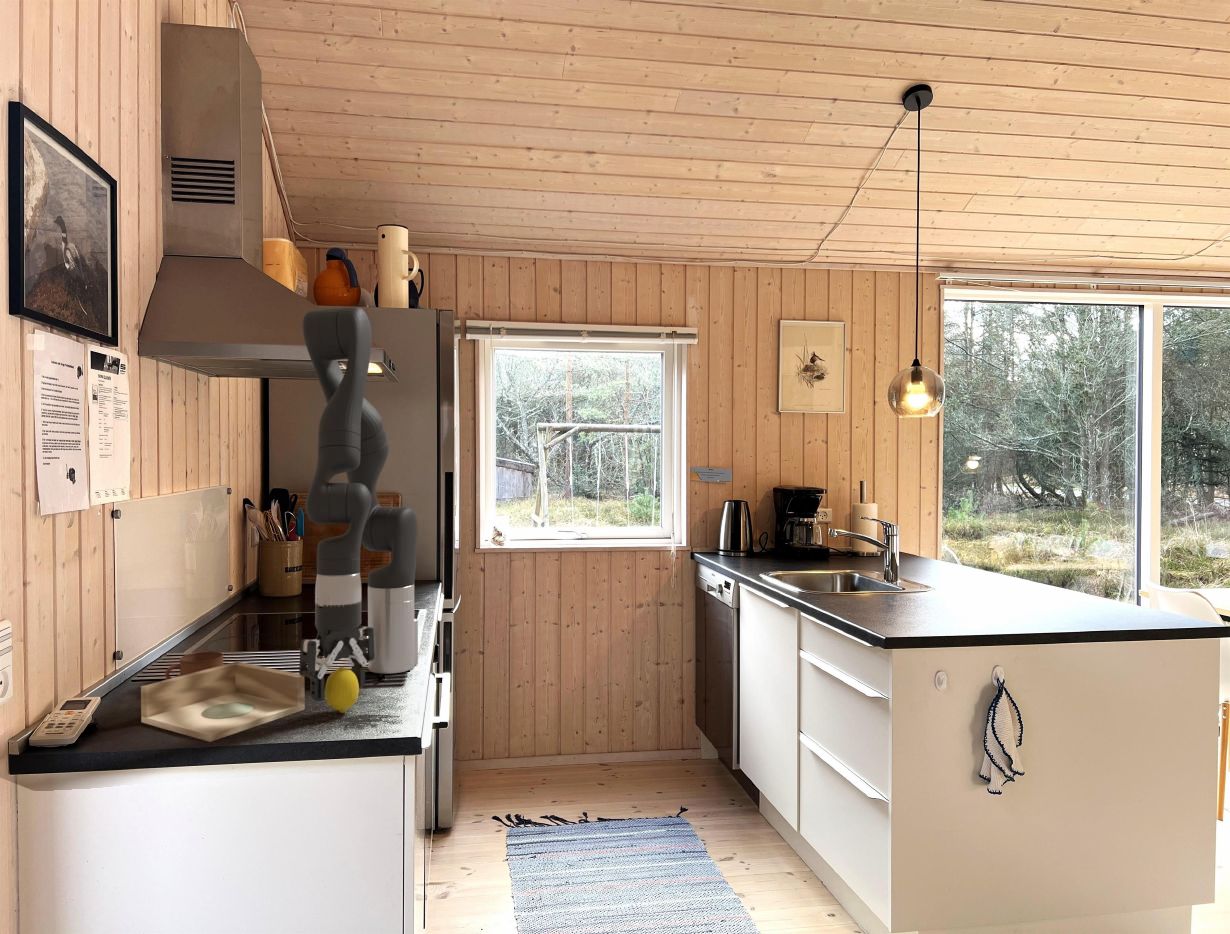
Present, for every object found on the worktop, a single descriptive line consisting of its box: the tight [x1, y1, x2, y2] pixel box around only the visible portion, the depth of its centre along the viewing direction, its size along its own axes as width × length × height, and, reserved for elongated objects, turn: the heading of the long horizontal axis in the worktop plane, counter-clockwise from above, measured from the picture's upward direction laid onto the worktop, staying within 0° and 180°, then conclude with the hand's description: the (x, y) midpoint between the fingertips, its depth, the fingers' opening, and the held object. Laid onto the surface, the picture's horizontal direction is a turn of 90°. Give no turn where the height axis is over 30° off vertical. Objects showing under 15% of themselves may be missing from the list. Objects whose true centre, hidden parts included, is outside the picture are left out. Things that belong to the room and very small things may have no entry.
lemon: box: [324, 666, 360, 714], centre depth 143 cm, size 6×6×8 cm
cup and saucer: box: [164, 651, 224, 680], centre depth 157 cm, size 12×12×6 cm
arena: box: [140, 661, 306, 742], centre depth 142 cm, size 18×18×6 cm
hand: (338, 693), depth 143 cm, fingers open, 8 cm apart
